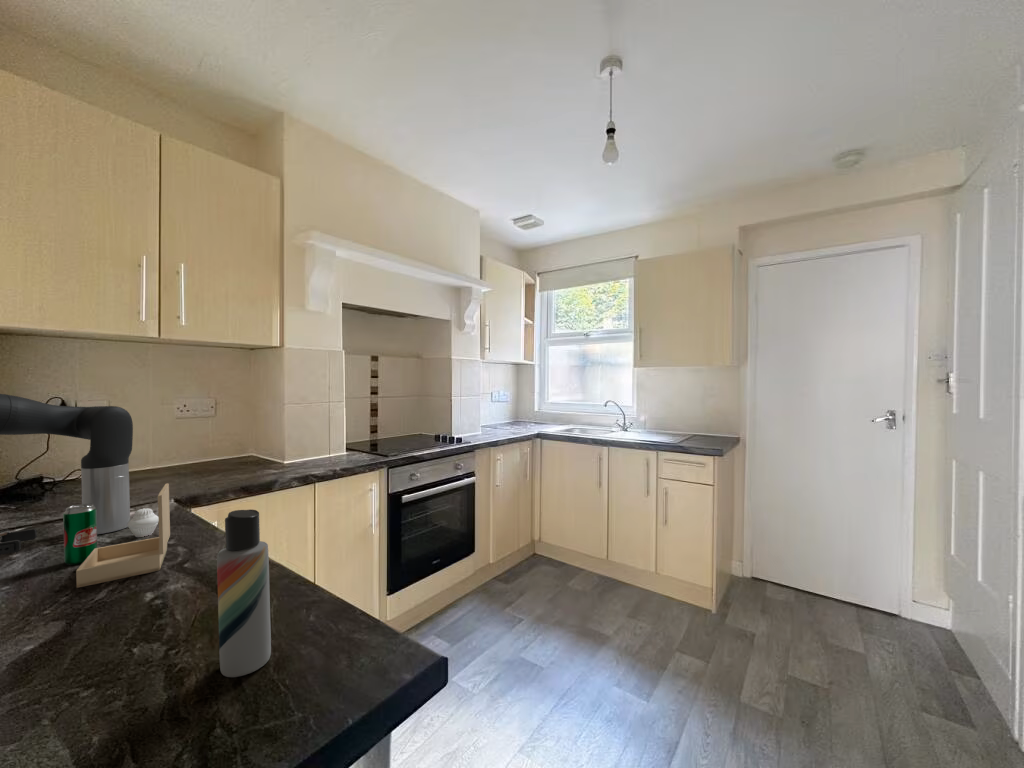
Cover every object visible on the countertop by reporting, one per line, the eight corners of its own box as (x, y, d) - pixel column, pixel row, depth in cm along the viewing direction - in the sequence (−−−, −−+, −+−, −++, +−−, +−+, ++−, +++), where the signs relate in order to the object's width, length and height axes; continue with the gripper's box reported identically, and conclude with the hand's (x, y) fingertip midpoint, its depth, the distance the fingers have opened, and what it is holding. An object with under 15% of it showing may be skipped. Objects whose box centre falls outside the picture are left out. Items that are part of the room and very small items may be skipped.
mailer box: (95, 563, 90) (93, 492, 90) (170, 548, 97) (168, 483, 97) (76, 587, 79) (74, 506, 79) (163, 569, 86) (161, 495, 86)
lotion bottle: (235, 651, 58) (232, 506, 58) (279, 648, 58) (275, 504, 58) (209, 680, 52) (205, 519, 52) (257, 676, 52) (253, 516, 53)
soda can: (76, 566, 89) (74, 510, 89) (57, 565, 90) (56, 509, 90) (103, 557, 93) (102, 503, 94) (86, 555, 94) (84, 502, 95)
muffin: (152, 529, 112) (151, 503, 112) (164, 532, 109) (164, 505, 109) (122, 537, 106) (121, 510, 106) (135, 541, 103) (134, 512, 103)
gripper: (-127, 551, 72) (14, 530, 82) (-78, 529, 84) (40, 513, 93) (-126, 594, 72) (15, 568, 82) (-77, 566, 84) (41, 546, 93)
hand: (28, 539), depth 87 cm, fingers open, 8 cm apart
